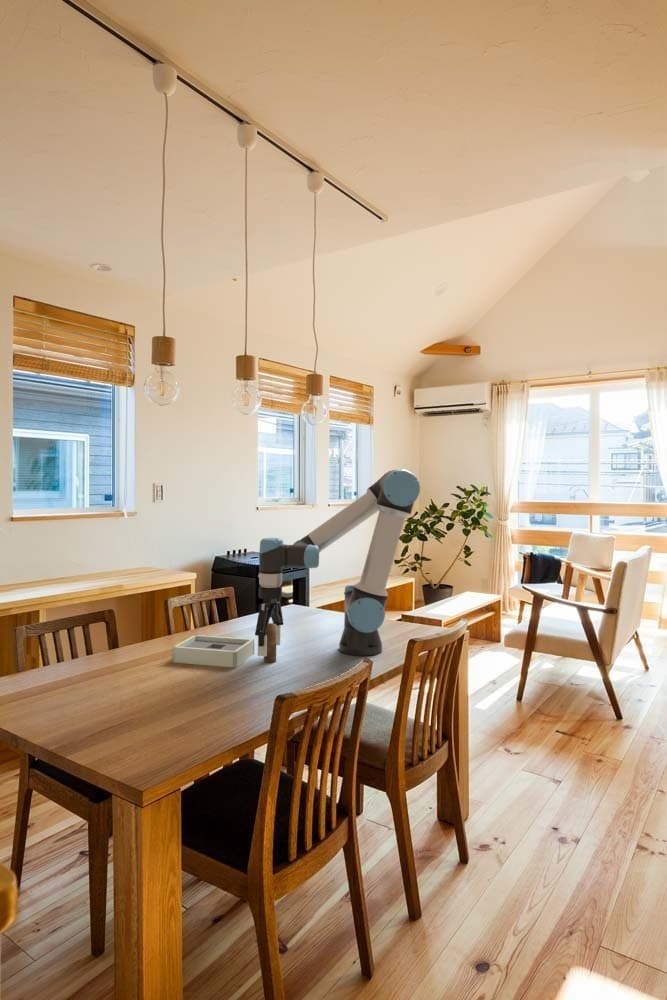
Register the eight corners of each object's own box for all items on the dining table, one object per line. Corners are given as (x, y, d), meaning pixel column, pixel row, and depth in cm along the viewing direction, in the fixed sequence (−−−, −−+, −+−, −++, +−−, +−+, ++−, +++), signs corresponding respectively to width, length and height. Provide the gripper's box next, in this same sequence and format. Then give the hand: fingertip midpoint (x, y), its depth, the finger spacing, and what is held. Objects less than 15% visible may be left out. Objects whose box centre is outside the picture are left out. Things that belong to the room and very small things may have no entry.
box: (254, 653, 207) (254, 639, 207) (235, 667, 191) (236, 652, 191) (195, 649, 212) (195, 634, 212) (172, 662, 197) (172, 647, 196)
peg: (277, 659, 200) (278, 623, 200) (273, 663, 196) (274, 626, 196) (266, 659, 201) (266, 623, 201) (262, 662, 197) (262, 625, 197)
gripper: (272, 579, 211) (271, 639, 212) (245, 591, 187) (244, 659, 187) (292, 580, 209) (291, 641, 210) (268, 592, 185) (267, 662, 186)
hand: (269, 650), depth 199 cm, fingers open, 13 cm apart
